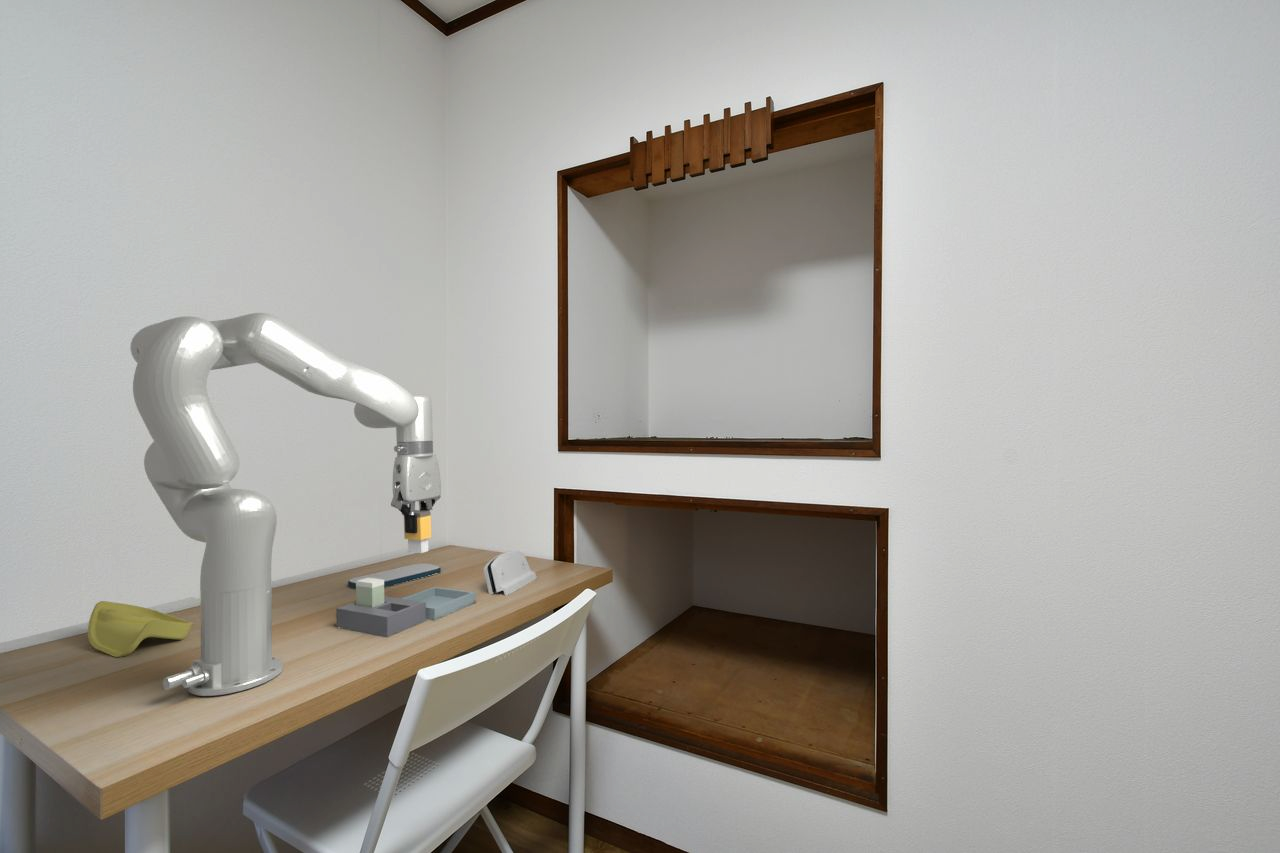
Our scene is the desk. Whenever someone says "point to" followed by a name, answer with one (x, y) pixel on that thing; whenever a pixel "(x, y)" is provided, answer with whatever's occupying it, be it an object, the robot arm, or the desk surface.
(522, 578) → the grey slotted holder
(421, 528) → the block
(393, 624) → the block
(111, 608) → the plastic component
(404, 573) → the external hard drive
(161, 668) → the desk surface
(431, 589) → the parts tray
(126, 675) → the desk surface
